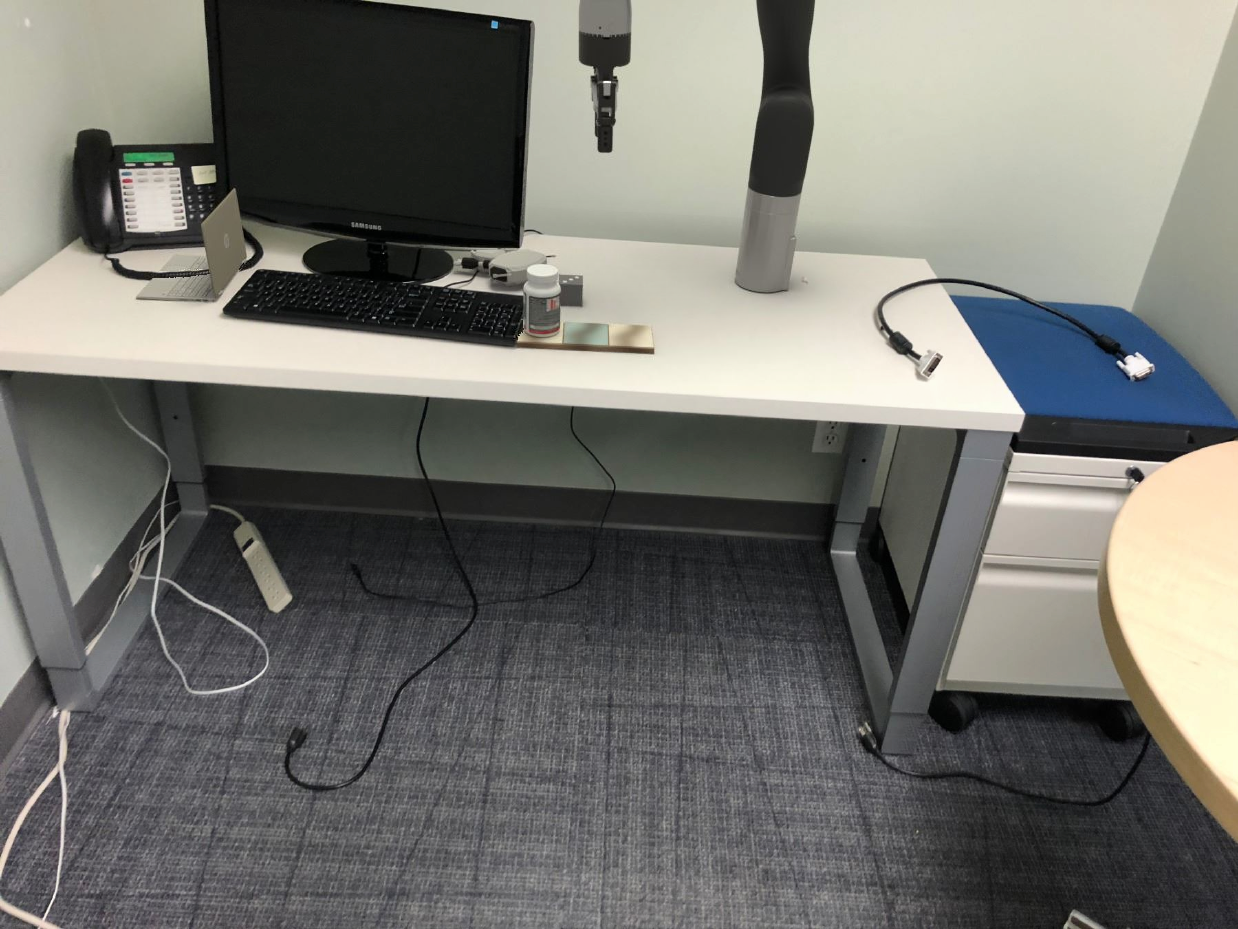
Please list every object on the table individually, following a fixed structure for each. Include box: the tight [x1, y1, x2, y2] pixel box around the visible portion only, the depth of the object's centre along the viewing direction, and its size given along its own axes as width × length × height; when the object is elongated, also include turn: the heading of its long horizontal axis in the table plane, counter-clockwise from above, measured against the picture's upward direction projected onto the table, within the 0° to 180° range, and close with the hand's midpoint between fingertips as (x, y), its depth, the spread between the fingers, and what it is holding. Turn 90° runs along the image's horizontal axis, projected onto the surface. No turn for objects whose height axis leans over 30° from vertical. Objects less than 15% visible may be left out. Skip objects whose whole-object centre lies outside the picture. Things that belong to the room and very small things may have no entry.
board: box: [516, 321, 655, 355], centre depth 146 cm, size 21×8×1 cm, turn 92°
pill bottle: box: [522, 264, 562, 337], centre depth 143 cm, size 6×6×10 cm
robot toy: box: [453, 248, 557, 287], centre depth 164 cm, size 12×4×15 cm
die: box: [558, 273, 584, 308], centre depth 157 cm, size 4×4×4 cm
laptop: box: [135, 187, 248, 303], centre depth 152 cm, size 18×12×13 cm
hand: (603, 144), depth 142 cm, fingers open, 8 cm apart
